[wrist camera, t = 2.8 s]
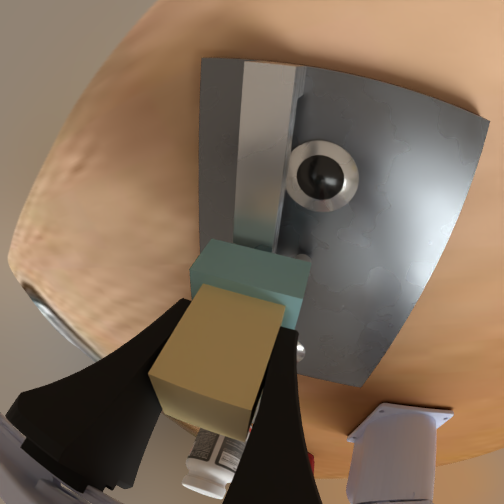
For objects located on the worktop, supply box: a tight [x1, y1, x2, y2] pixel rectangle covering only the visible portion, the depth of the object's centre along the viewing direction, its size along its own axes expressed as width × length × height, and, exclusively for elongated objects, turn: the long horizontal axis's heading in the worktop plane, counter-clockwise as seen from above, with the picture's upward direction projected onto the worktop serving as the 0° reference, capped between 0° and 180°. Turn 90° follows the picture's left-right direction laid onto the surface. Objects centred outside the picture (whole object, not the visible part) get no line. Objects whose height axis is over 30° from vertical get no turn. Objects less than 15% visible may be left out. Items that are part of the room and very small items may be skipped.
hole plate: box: [199, 57, 490, 387], centre depth 16 cm, size 19×12×1 cm, turn 176°
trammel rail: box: [233, 61, 307, 423], centre depth 14 cm, size 19×4×5 cm, turn 176°
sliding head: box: [148, 238, 312, 442], centre depth 12 cm, size 4×4×9 cm
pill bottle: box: [182, 425, 252, 499], centre depth 28 cm, size 6×6×10 cm
